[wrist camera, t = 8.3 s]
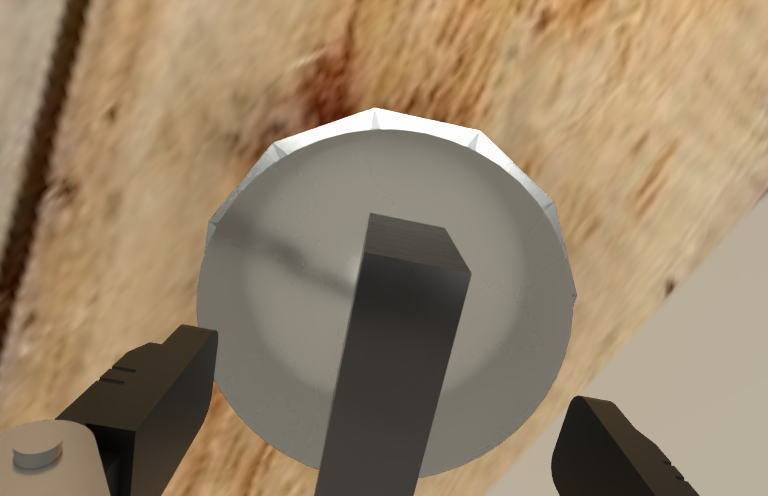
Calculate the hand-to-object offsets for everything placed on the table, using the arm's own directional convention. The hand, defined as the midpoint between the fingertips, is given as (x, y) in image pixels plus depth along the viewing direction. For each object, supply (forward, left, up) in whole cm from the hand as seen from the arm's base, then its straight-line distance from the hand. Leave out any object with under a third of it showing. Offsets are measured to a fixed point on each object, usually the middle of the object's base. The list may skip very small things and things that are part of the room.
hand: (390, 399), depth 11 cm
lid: (0, 0, -7) cm, 7 cm away
